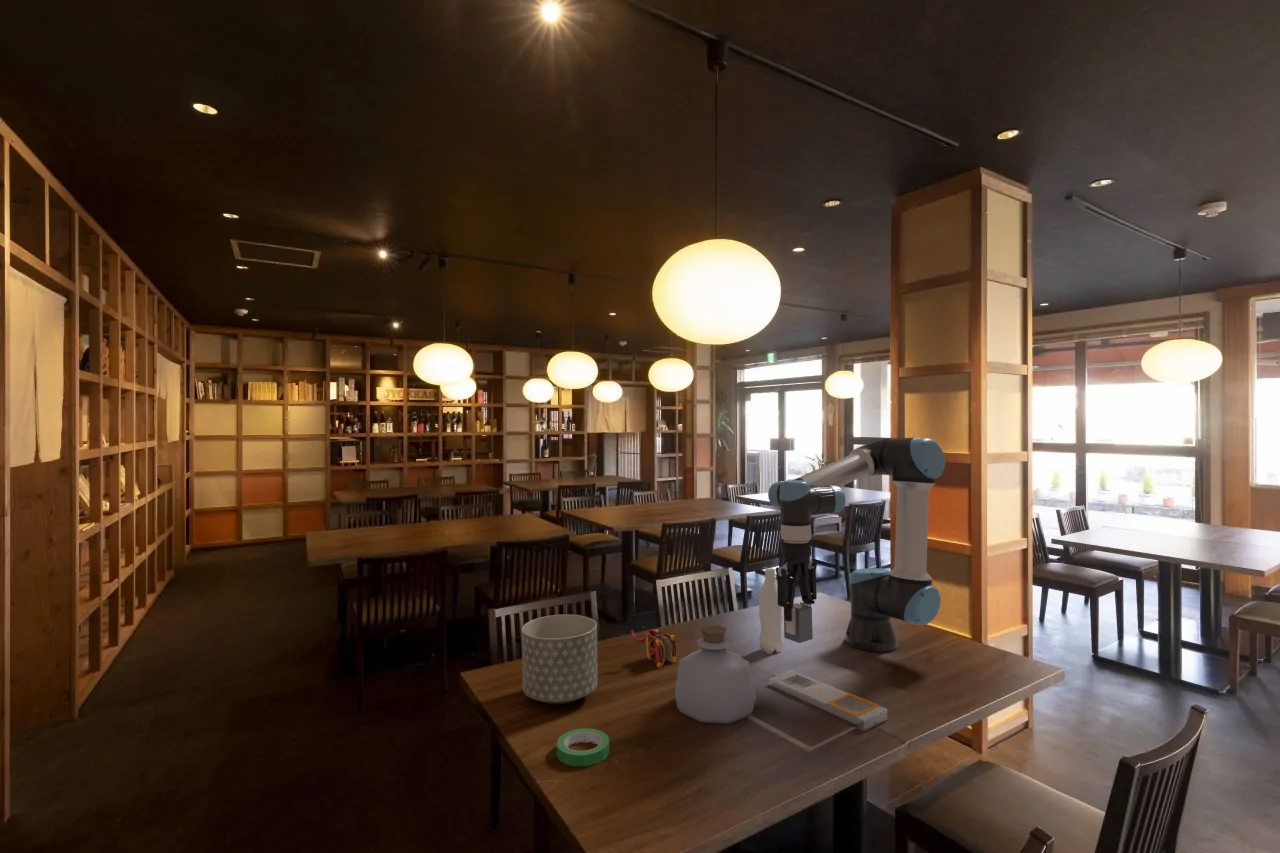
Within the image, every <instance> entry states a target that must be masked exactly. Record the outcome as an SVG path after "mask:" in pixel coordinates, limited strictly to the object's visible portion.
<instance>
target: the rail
mask: <svg viewBox="0 0 1280 853" xmlns="http://www.w3.org/2000/svg"><path fill="white" fill-rule="evenodd" d="M768 685H769V686H770V687H773V688H776V689H778V690H780V691H781V692H784V693H786V694H788V695H791V696H792V697H795V698H797V699H799V700H802V701H804V702H806V703H808V704H810V705H813V706H815V707H817V708H819V709H822V710H824V711H826V712H827V713H830V714H832V715H834V716H837V717H838V718H841V719H843V720H845V721H848V722H850V723H851V724H854V725H853V726H852V727H854V728H856V729H858V730H860V731H862V732H865V731H868V730H870V729H872V728H874V727H876V726H878V725H880V724H882V723H884V722H885V721H887V720H888V709H887V708H885V707H884V706H880V704H878V703H875V702H873V701H871V700H868V699H865V698H862V697H860V696H858V695H856V694H853V693H851V692H847V691H844V690H841V689H840V688H836V687H834V686H832V685H829V684H827V683H824V682H822V681H820V680H817V679H815V678H814V677H813V678H812V677H810V676H807V675H805V674H802V673H800V672H797V671H795V670H793V669H791V670H788V671H785V672H783V673H781V674H777V675H775V676H772V677H769V678H768Z"/></svg>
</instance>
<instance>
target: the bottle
mask: <svg viewBox="0 0 1280 853" xmlns="http://www.w3.org/2000/svg"><path fill="white" fill-rule="evenodd" d="M700 631H701V634H702V637H700V638H698V639H697V640H696V645H697V646H698V647H699V648H701V649H699V650H695V651H693V652H692V653H690V654H688V655H685V656H684V657H682V658H680V659H679V660H678V661H679V662H678V667H677V676H676V681H675V682H676V683H675V689H674V698H675V702H676V703H675V704H676V707H677V709H678V711H679V712H680V713H681V714H682V715H685V716H687V717H689V718H690V719H694V720H695V721H697V722H699V723H708V724H723V725H725V724H726V725H729V724H732V723H734V722H737V721H739V720H740V721H741V720H742V719H745V718H749V716H750V715H751V714H752V713H753V710H754V707H755V703H756V700H757V698H756V697H757V696H756V692H755V686H754V680H753V673H752V667H751V662H749V661H747V660H746V659H745V658H743V657H742V656H740V655H738V654H737V653H735V652H733V651H729V650H728V649H727V648H730V647H731V645H732V642H731V640H730V639H729V638H727V637H725V636H726V631H727V627H725V626H723V625H720V624H705V625H703V626H701V629H700Z"/></svg>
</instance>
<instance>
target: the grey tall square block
mask: <svg viewBox="0 0 1280 853" xmlns="http://www.w3.org/2000/svg"><path fill="white" fill-rule="evenodd" d="M793 608H795V615H796V634H795V635H793V634H790V633H787V632H786V620H785V619H784V618H783V631H784V632H783V633H784V635H783V639H787V640H789V641H792V642H795V643H797V644H798V643H799V644H801V643H804V642H805V643H806V642H807V641H810V640H813V638H814V637H813V636H814V635H813V632H814V631H813V608H812V606H811V607H808V606H804V605H801V604H800V603H796V602H794V603H793Z"/></svg>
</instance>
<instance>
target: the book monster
mask: <svg viewBox="0 0 1280 853" xmlns="http://www.w3.org/2000/svg"><path fill="white" fill-rule="evenodd" d="M630 632H631V635H632V636H633V637H634V640H635V641H636V642H637V643H638V644H640V643H641V644H642V643H644V642H645V644H646V655H647V656H646V657H647V658H649V659H651V660H650V661H653V663H654V664H656V667H657V668H659V669H661V668H662V666H664V664H665V662H669V661H672V662H673V663H674V662H675V663H676V662H677V660H678V659H677V658H678V657H677V648H676V634H670V633H668V632H666V631H665V632H664V631H660V630H659V629H649V630H648V631H647V632H645V636H644V638H641V639H638V638H637V637H636V636H635V633H634V629H632V630H630Z"/></svg>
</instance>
